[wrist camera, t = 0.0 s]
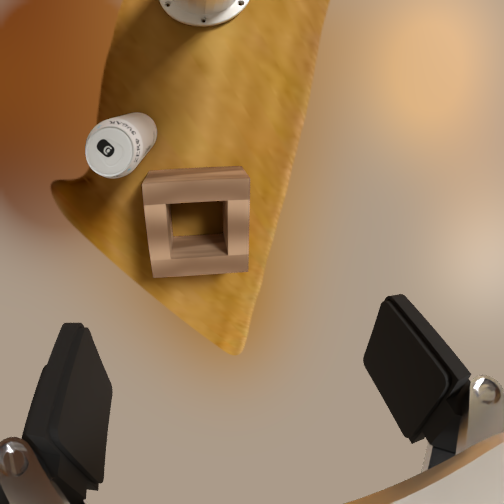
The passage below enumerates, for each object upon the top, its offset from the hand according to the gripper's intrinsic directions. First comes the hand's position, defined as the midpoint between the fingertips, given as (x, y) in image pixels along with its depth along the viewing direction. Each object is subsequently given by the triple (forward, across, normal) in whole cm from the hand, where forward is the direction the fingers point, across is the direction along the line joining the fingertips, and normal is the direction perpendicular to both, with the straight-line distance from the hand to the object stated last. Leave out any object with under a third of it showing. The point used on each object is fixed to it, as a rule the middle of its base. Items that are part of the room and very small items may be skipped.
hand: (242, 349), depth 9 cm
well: (+37, +1, +9) cm, 38 cm away
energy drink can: (+37, +9, -3) cm, 38 cm away
